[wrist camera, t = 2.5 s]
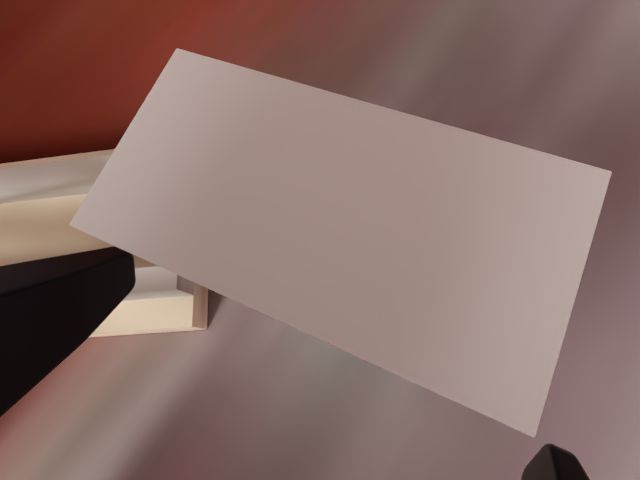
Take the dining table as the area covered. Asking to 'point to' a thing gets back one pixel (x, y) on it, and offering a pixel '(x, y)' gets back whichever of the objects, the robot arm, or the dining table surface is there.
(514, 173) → the door panel
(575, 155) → the dining table surface
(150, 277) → the track base
